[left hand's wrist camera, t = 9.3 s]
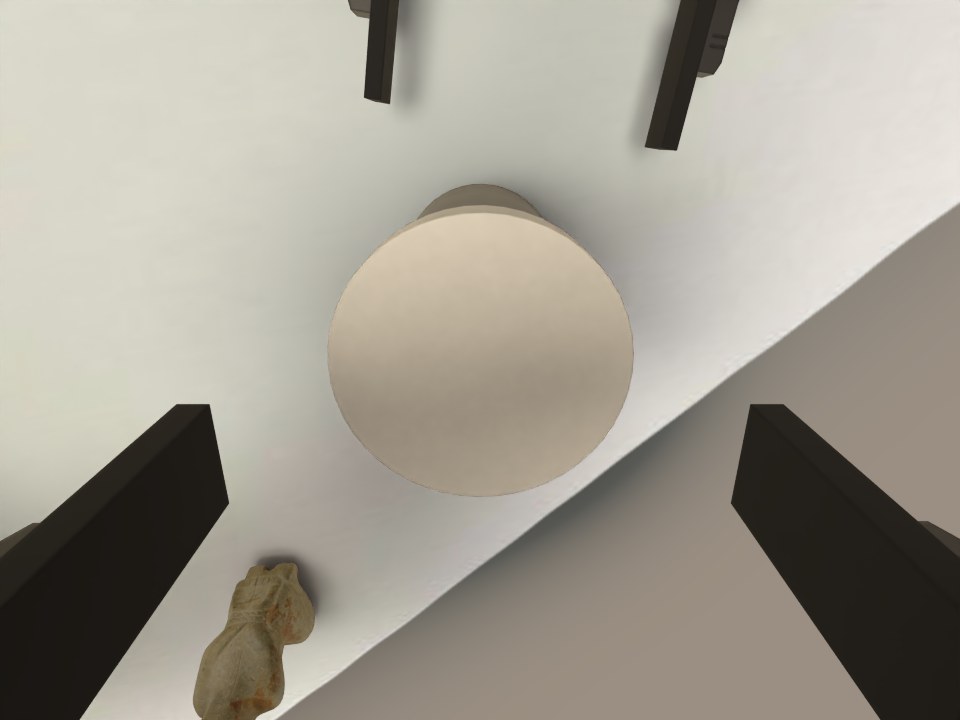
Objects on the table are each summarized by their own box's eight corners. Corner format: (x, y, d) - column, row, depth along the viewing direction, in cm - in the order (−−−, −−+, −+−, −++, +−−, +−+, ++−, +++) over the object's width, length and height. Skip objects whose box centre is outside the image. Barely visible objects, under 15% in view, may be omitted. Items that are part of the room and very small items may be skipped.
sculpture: (257, 624, 46) (159, 837, 32) (237, 553, 43) (120, 752, 29) (327, 620, 45) (260, 832, 32) (312, 549, 43) (230, 746, 29)
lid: (676, 303, 20) (697, 320, 18) (521, 505, 23) (525, 539, 21) (428, 143, 18) (422, 144, 16) (296, 389, 21) (277, 414, 19)
